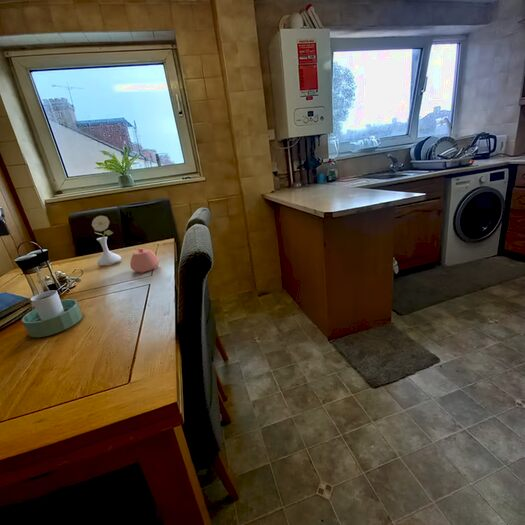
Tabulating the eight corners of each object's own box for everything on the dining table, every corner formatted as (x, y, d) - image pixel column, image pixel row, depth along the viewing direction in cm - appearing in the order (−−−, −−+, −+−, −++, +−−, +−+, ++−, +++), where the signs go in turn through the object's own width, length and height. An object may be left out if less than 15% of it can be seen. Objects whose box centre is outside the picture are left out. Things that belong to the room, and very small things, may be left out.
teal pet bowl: (19, 344, 80) (10, 327, 78) (43, 319, 93) (37, 304, 91) (72, 332, 82) (66, 316, 80) (89, 309, 95) (83, 295, 94)
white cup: (62, 316, 92) (51, 289, 88) (72, 320, 88) (61, 292, 85) (39, 327, 86) (26, 298, 83) (49, 331, 83) (36, 302, 80)
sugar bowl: (136, 277, 120) (130, 254, 117) (128, 269, 131) (122, 249, 127) (164, 268, 127) (158, 246, 124) (154, 261, 138) (148, 242, 134)
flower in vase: (92, 268, 140) (75, 219, 132) (109, 260, 151) (94, 214, 142) (114, 267, 137) (98, 217, 128) (129, 259, 147) (115, 212, 139)
